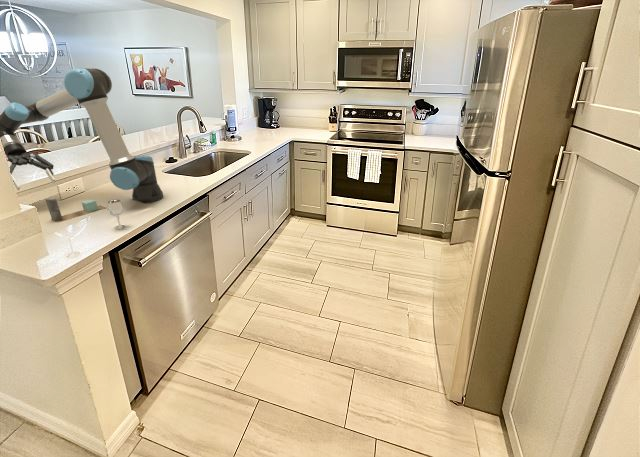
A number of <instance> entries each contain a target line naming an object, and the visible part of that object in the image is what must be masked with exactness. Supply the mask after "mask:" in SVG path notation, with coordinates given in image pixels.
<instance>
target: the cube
mask: <svg viewBox="0 0 640 457" xmlns="http://www.w3.org/2000/svg"><path fill="white" fill-rule="evenodd" d="M81 205H82V210H84V211H86V212H88V213H89V212H92V211H96V210H98V207H97V206H98V204H97V201H96V200H95V199H91V198H90V199H88V200H83V201H81ZM96 212H97V211H96ZM92 213H93V212H92ZM89 214H90V213H89Z"/></svg>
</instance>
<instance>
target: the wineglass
mask: <svg viewBox="0 0 640 457" xmlns="http://www.w3.org/2000/svg"><path fill="white" fill-rule="evenodd" d="M106 208H107V211H108V213H109V215H111V216H114V217H116V220H117V222H118V225H117V226H115V227H114V229H115V230H122V228H123V229H125V228H126V227H127V226H126V224H121V222H120V217H119V216H121V215H122V214H123V213H124V206H123V204H122V202H121V200H120V199H111V200H109V201H108V200H107V206H106Z"/></svg>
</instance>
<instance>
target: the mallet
mask: <svg viewBox="0 0 640 457" xmlns="http://www.w3.org/2000/svg"><path fill="white" fill-rule="evenodd" d="M45 203H46V206H47V208H48V211H49V215H50V220H51V221H53V222H55V223H61V222H64V221H68V220H72V219H75V218H78V217H81V216H85V215H88V214H92V213H96V212H99V211H101V210H106V209H107V206H103V205H100V204H99V205H97V207H98V210H96V211H92V212H89V213H88V212H86V211H84V209H82V210H79V211H74V212H72V213H68V214H64V215H62V213H61V211H60V207H59V204H58V200H57V198H55V197H49V198H45Z"/></svg>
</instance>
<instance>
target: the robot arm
mask: <svg viewBox="0 0 640 457" xmlns="http://www.w3.org/2000/svg"><path fill="white" fill-rule="evenodd" d="M63 85H64V89H62V90H59V91H57V92H56V93H54V94H51V95H49V96H47V97H45V98H43V99H39V100H38V101H36V102H33V103H32V104H29V105H23V104H22V103H18V102H11V103H9V105H7V106H6V107H5V108H4V110H3V111H2V113H0V138H1V140H2V144H3V147H4V151H5V153H4V155H5V156H6V157H5V158H6V159H7V162H10V163H11V164H10V166H9V168H10V173H11V176H12V179H13V182H14V184H13V185H15V186H14V187H15V189H16V190H17V191H20V189H21V186H20V184H19V183H18V181H17V180H16V179H15V177H14V175H13V173H14V170H15V169H16V167H17V166H21V167H22V166H25V165H26V166H27V165H30V166H33V167H34V166H35V167H37V168H40V169H41V170H44V171H45V174H46V175H47V177H48V178H49V180H50V181H51V183H52V184H55V182H56V179H55V177H54V174H55V173H54V172H53V170H54V164H53V163H52V162H50V161H48V159H47V160H46V159H45V158H43V157H41V156H40V155H39V154H38V153H37V152H36V151H33V153H29V152H28V151H27V149H26V148H25V146H24V145H23V144H22V142H21V141H20V139H19V138H18V136H17V135H16V133H15V132H16V131H17V130H18V129H19V128H20V127H21V126H22V125H23V124H24V125H25V124H31V123H36V122H43V121H46V120H48V119H49V118H50V117H51V116H53V115H55V114H58V113H59V112H63V111H65V110H67V109H70V108H71V107H73V106H76V105H80V106H82V107H84V108H85V110H86V112H87V114H88V116H89V118H90V120H91V122H92V125H93V127H94V129H95V131H96V133H97V135H98V138H99V139H100V140H101V143H102V145H103V147H104V149H105V152H106V154H107V156H108V157H109V160H110V161H109V162H108V166H109V168H110V170H111V171H110V174H109V180H110V181H111V183H112V184H113V186H115V187H116V188H118V189H120V190H124V191H129V190H132V194H131V198H132V201H135V202H140V203H142V204H147V203H154V202H159V201H160V200H162V199H164V192H163V190H162V189H161V187H160V185H159V184H158V180H157V174H156V169H155V165H154V163H155V162H154V159H153V157H152V156H151V155H145V154H144V155H140V154H139V155H131V154H130V152H129V150H128V148H127V146H126V143H125V141H124V139H123V136H122V134H121V132H120V130H119V128H118V125H117V124H116V121H115V120H114V117H113V115H112V111H111V110H110V108H109V106H108V103H107V101H108V99H109V98H108V94H109V93H110V92H111V90H112V88H113V83H112V80H111V77H110V76H109V75H108V74H107V73H106V72H105V71H103V70H102V69H99V68H86V67H85V68H84V67H78V68H77V67H76V68H73V69H70V70H68V71H67V72H66V74H65V75H64V80H63ZM4 151H3V152H4Z"/></svg>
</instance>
